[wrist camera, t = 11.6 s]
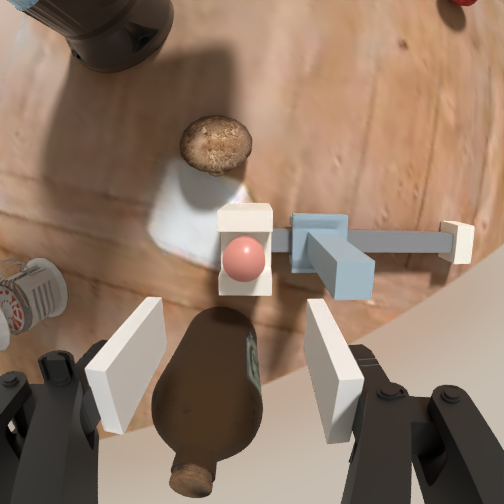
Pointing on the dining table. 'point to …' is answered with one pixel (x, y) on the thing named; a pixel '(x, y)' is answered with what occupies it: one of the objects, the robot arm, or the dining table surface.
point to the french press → (30, 297)
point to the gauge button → (244, 258)
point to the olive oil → (209, 398)
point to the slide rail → (394, 241)
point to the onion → (464, 2)
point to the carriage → (330, 255)
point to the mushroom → (215, 144)
